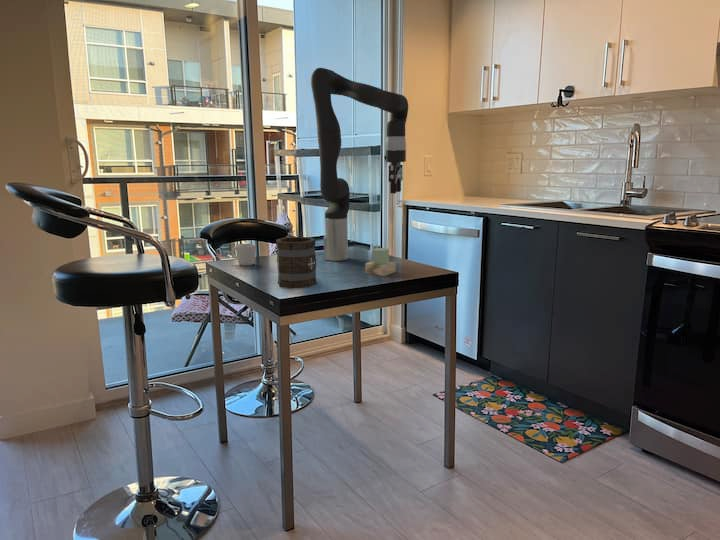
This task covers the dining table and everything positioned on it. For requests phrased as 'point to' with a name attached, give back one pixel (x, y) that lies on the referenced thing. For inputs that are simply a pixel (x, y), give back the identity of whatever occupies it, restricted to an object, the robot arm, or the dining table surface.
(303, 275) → the mug
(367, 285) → the dining table surface
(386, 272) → the maple block
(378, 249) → the sage cube
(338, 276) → the dining table surface
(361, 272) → the dining table surface
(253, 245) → the cup
